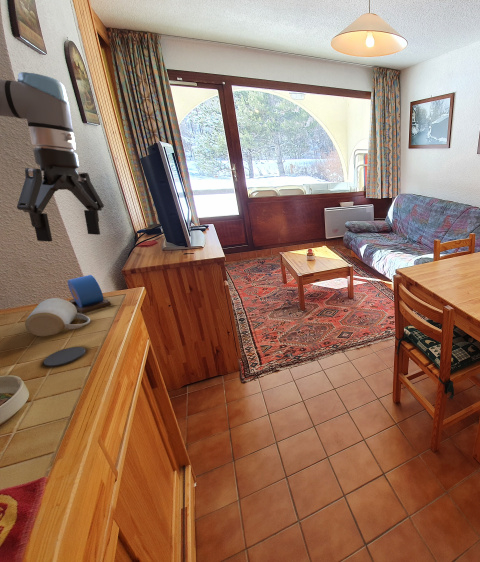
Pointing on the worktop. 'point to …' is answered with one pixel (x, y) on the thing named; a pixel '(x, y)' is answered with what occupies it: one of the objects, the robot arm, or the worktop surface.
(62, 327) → the ceramic mug
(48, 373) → the worktop surface
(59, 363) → the coaster
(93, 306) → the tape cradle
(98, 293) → the tape roll
